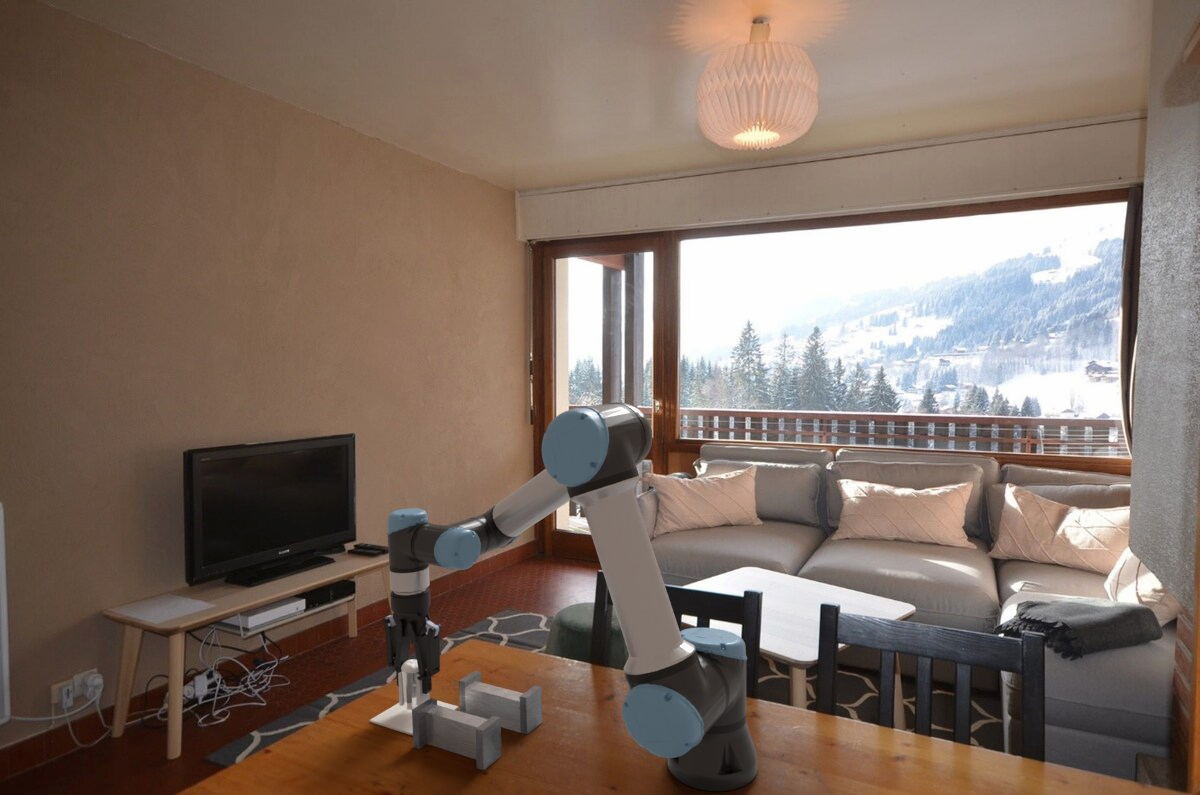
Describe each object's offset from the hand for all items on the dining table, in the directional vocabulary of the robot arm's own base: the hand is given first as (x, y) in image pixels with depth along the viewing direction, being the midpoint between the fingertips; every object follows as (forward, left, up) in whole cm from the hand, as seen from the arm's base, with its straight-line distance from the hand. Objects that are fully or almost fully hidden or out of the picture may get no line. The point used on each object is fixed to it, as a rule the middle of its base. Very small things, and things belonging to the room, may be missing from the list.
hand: (414, 705), depth 144 cm
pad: (0, 0, -2) cm, 2 cm away
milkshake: (0, 0, 0) cm, 0 cm away
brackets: (-16, 0, -2) cm, 16 cm away
